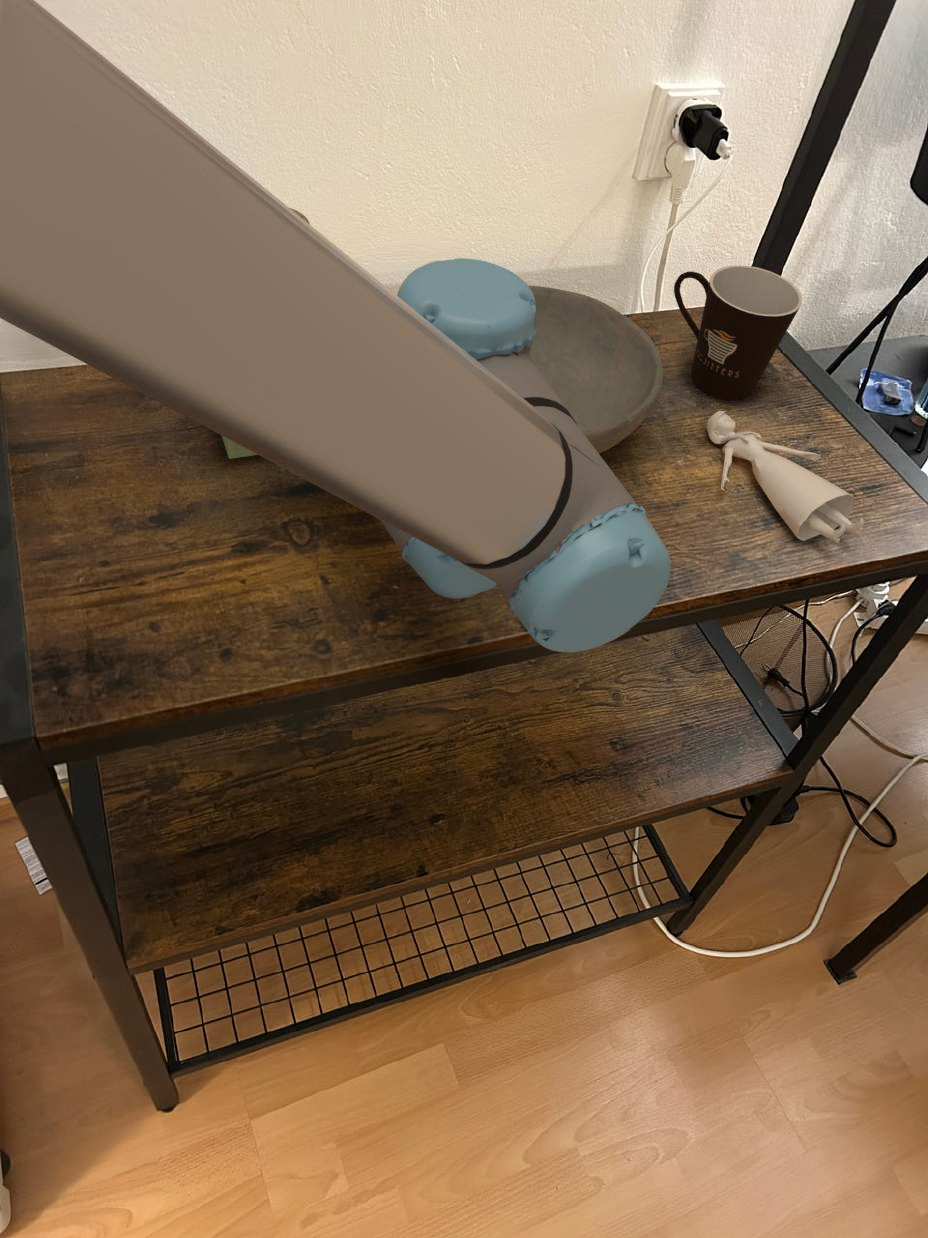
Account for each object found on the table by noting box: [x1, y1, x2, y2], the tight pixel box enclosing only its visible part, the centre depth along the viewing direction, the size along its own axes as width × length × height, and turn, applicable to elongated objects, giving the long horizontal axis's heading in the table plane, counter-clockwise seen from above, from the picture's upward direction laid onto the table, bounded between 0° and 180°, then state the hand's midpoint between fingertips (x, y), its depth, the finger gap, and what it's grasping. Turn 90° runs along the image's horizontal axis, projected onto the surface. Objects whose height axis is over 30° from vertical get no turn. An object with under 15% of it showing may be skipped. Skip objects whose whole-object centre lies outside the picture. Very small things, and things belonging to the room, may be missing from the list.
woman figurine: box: [706, 410, 866, 544], centre depth 85 cm, size 12×4×18 cm
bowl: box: [528, 285, 664, 454], centre depth 86 cm, size 21×21×8 cm
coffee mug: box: [673, 264, 803, 401], centre depth 94 cm, size 12×9×10 cm
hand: (246, 252), depth 79 cm, fingers closed on tea tin, 6 cm apart
